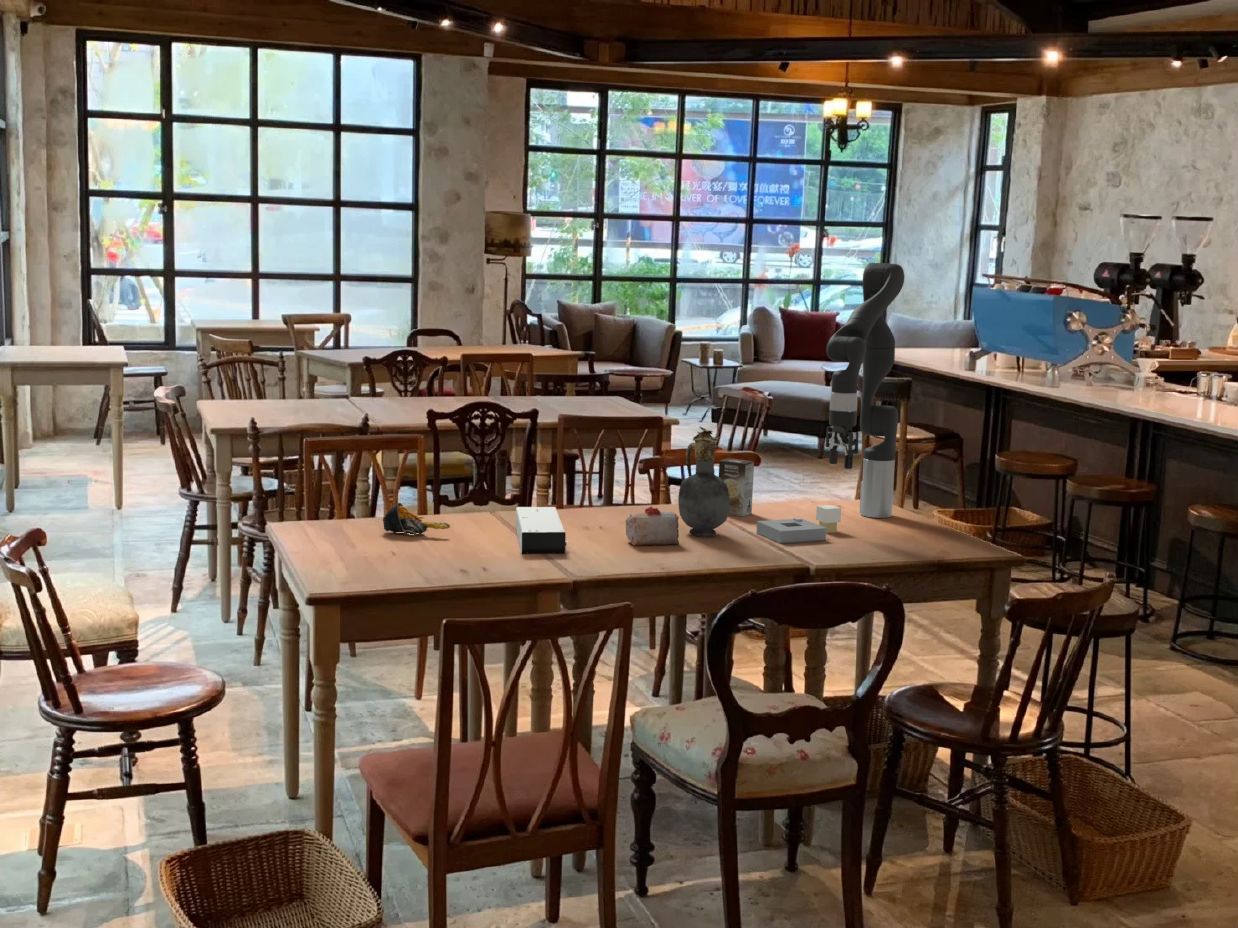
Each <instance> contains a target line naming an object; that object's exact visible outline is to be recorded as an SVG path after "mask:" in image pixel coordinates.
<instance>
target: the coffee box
mask: <svg viewBox="0 0 1238 928" xmlns="http://www.w3.org/2000/svg"><path fill="white" fill-rule="evenodd" d="M718 463H719V464H718V477H720V478H721V479H722V480H723V481H724V482H725V484H726V485H727V487H728V492H729V500H730V506H729V513H728V516H730V515H732V516H738V517H745V516H748V515H751V514H752V511H753V493H754V491H753V490H754V473H755V472H754V471H755V461H753V460H746V459H740V458H739V459H738V458H731V457H728V458H725V459H720V460H719V461H718Z"/></svg>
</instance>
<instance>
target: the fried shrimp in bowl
mask: <svg viewBox="0 0 1238 928" xmlns="http://www.w3.org/2000/svg"><path fill="white" fill-rule="evenodd" d="M422 519H425V517H424V516H418V515H416V514H414V513H412V512H409V509H408V508H407V507H406V506H404V505H403V504H402V503H401V502H397V503H396V505H394V506H392V507H391V508H390V509H389V510H388V511H387V512H386V514H385V516H383V518H382V523H383V530H385V531H386V532H392V533H394V532H404V533H403V534H405V535H407V533H410V534H414V535H415V536H416V535H417V534H416V533H419V534H418V535H421V534H423V533H425V532H426V531H427V529H429V528H430V529H434V530H435V529H436V530H439V529H440V530H445V529H446V530H447V529H450V528H451V527H450V526H451V525H450V524H449V523H447V522H436V521H433V522H431V521H423V520H422ZM420 533H421V534H420Z"/></svg>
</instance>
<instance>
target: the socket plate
mask: <svg viewBox="0 0 1238 928" xmlns="http://www.w3.org/2000/svg"><path fill="white" fill-rule="evenodd" d="M756 534H757V535H758V536H761V537H764V538H765V539H768V540H771V541H772V542H775V543H777V544H780V545H786V544H797V543H813V542H826V540H827V533H826V528H825V527H822V526H819V524H816V523H814V522H811V521H809V520H807V519H804V518H801V517H793V518H786V519H783V518H782V519H770V520H757V521H756Z"/></svg>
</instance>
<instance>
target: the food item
mask: <svg viewBox="0 0 1238 928" xmlns="http://www.w3.org/2000/svg"><path fill="white" fill-rule="evenodd" d="M679 526H680V525H679V516H678V515H677V513H676V512H674V511H660V510H659V508H657V507H655V508H654V507H653V505H650V506H649V507H646V508H645V509H644V512H637V513H636V512H635V513H630V515H629V517H626V518H625V535H626V538H627V540H628V541H629V542H630V543H631V545H632V546H636V547H641V546H642V547H643V546H660V545H661V546H669V545H670V546H671V545H679V544H680V541H679V537H680V535H679V534H680V533H679Z"/></svg>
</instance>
